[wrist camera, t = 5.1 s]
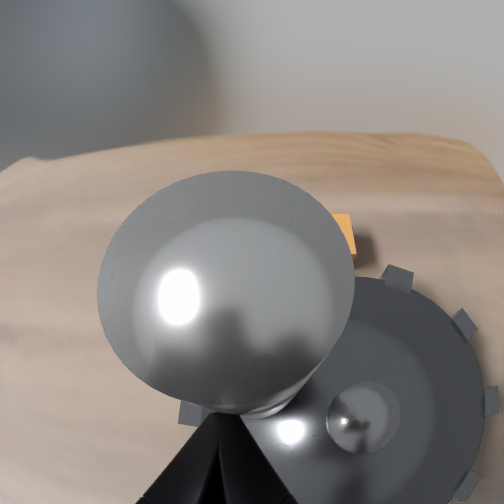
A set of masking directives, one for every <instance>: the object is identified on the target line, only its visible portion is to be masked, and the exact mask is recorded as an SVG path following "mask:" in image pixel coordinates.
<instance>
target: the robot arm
mask: <svg viewBox="0 0 504 504" xmlns="http://www.w3.org/2000/svg"><path fill="white" fill-rule="evenodd" d="M135 504H299V503H298V502H297V501H296V499H295V498H294V497H293V495H292V494H290V491H289V490H288V488H287V487H286V486H285V484H284V483H283V481H282V480H281V478H280V477H279V475H278V474H277V473H276V471H275V470H274V468H273V467H272V465H271V464H270V462H269V461H268V459H267V458H266V456H265V455H264V453H263V452H262V450H261V448H260V447H259V445H258V444H257V442H256V441H255V439H254V438H253V436H252V434H251V433H250V431H249V430H248V428H247V426H246V425H245V423H244V422H243V420H242V418H241V417H240V415H231V414H225V413H221V412H210V413H209V414H208V415H207V416H206V418H205V419H204V420H203V422H202V423H201V424H200V425H199V427H198V428H197V429H196V431H195V432H194V433H193V434H192V436H191V437H190V438H189V440H188V441H187V442H186V443H185V445H184V446H183V447H182V448H181V450H180V451H179V452H178V453H177V455H176V456H175V457H174V458H173V460H172V461H171V462H170V463H169V465H168V466H167V467H166V468H165V469H164V471H163V472H162V473H161V474H160V475H159V477H158V478H157V479H156V480H155V481H154V483H153V484H152V485H151V486H150V487H149V489H148V490H147V491H146V492H145V493H144V494H143V497H141V498H140V499H139V500H138V501H137V502H136V503H135Z"/></svg>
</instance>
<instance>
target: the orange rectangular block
mask: <svg viewBox="0 0 504 504" xmlns="http://www.w3.org/2000/svg"><path fill="white" fill-rule="evenodd" d="M331 215H332V217H333V218H334V219H335V221H336V222H337V223H338V225H339V227H340V228H341V230H342V232H343V234H344V236H345V238H346V240H347V243H348V246H349V248H350V251H351V255H352V260H353V261H354V259H355V256H356V248H355V242H354V237H353V231H352V226H351V221H350V216H349V214H331Z"/></svg>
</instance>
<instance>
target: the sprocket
mask: <svg viewBox="0 0 504 504" xmlns="http://www.w3.org/2000/svg"><path fill="white" fill-rule="evenodd" d="M413 275H414V273H413V272H410V271H407V270H404V269H401V268H399V267H396V266H393V265H390V264H389V265H388V266H387V268H386V269H385V271H384V273H383V274H382V276H381V277H380V279H375V278H368V277H355V275H354V265H353V260H352V255H351V251H350V248H349V246H348V243H347V240H346V238H345V236H344V234H343V232H342V230H341V228H340V227H339V225H338V223H337V222H336V221H335V219H334V218H333V217H332V215H331V214H330V213H329V212H328V211H327V210H326V209H325V207H324V206H323V205H322V204H321V203H320V202H318V201H317V200H316V199H315V198H313V197H312V196H311V195H310V194H308V193H307V192H305V191H303V190H302V189H300V188H299V187H297V186H295V185H293V184H291V183H289V182H286V181H284V180H281V179H279V178H276V177H273V176H269V175H265V174H261V173H255V172H247V171H219V172H211V173H206V174H200V175H197V176H193V177H190V178H186V179H184V180H181V181H179V182H176V183H174V184H172V185H170V186H168V187H166V188H164V189H162V190H160V191H159V192H157V193H156V194H154V195H152V196H151V197H149V198H148V199H147V200H146V201H144V202H143V203H142V204H141V205H139V206H138V207H137V208H136V209H135V210H134V211H133V212H132V213H131V214H130V215H129V216H128V217H127V218H126V220H125V221H124V222H123V223H122V225H121V226H120V227H119V229H118V230H117V232H116V233H115V235H114V236H113V238H112V240H111V242H110V244H109V246H108V248H107V250H106V252H105V255H104V258H103V261H102V264H101V268H100V273H99V277H98V288H97V300H98V310H99V315H100V320H101V324H102V327H103V329H104V332H105V335H106V337H107V340H108V341H109V343H110V345H111V347H112V348H113V350H114V352H115V353H116V355H117V356H118V357H119V359H120V360H121V361H122V362H123V364H124V365H125V366H126V367H127V368H128V369H129V370H130V371H131V372H132V373H133V374H134V375H135V376H136V377H138V378H139V379H140V380H142V381H143V382H145V383H146V384H148V385H149V386H150V387H152V388H154V389H156V390H158V391H160V392H162V393H164V394H166V395H168V396H170V397H173V398H176V399H179V400H181V405H180V412H179V420H178V424H184V425H190V426H196V427H199V425H200V424H201V423H202V422H203V420H204V419H205V418H206V416H207V415H208V414H209V413H210V412H221V413H225V414H231V415H240V417H241V418H242V420H243V422H244V423H245V425H246V426H247V428H248V430H249V431H250V433H251V434H252V436H253V438H254V439H255V441H256V442H257V444H258V445H259V447H260V448H261V450H262V452H263V453H264V455H265V456H266V458H267V459H268V461H269V462H270V464H271V465H272V467H273V468H274V470H275V471H276V473H277V474H278V475H279V477H280V478H281V480H282V481H283V483H284V484H285V486H286V487H287V488H288V490H289V491H290V494H292V495H293V497H294V498H295V499H296V501H297V502H298V503H299V504H447V503H448V502H449V500H450V499H451V498H453V499H457V500H461V501H465V502H466V500H467V499H468V497H469V496H470V494H471V492H472V491H473V489H474V488H475V486H476V484H477V483H478V481H479V479H480V478H481V476H480V475H478V474H477V473H475V472H473V471H472V470H470V469H471V467H472V465H473V462H474V460H475V457H476V455H477V452H478V449H479V446H480V442H481V438H482V434H483V429H484V420H485V416H488V415H492V414H496V413H498V386H494V387H489V388H484V385H483V378H482V375H481V371H480V367H479V364H478V361H477V359H476V356H475V354H474V352H473V349H472V347H471V346H470V344H469V342H468V339H469V338H470V337H471V336H472V335H473V333H474V332H475V331H476V330H477V327H476V326H475V325H474V323H473V322H472V320H471V319H470V318H469V316H468V315H467V314H466V312H465V311H464V310H463V309H460V310H459V311H458V312H457V313H455V314H454V315H453V316H452V317H449V316H448V315H447V314H446V313H445V312H444V311H443V310H442V309H441V308H440V307H439V306H437V305H436V304H435V303H433V302H432V301H431V300H429V299H428V298H426V297H424V296H423V295H421V294H419V293H418V292H416V291H414V290H411V287H412V281H413Z"/></svg>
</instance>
